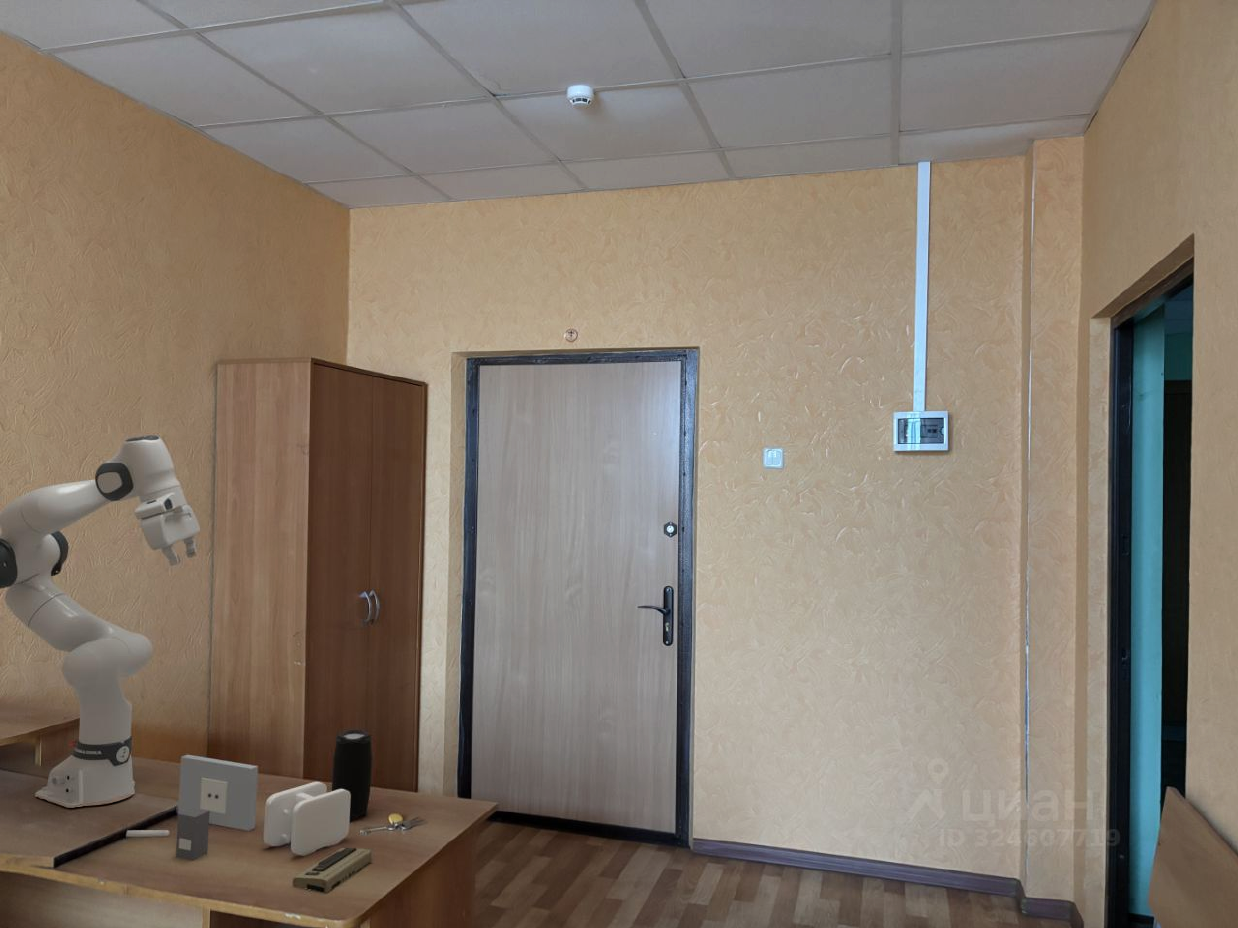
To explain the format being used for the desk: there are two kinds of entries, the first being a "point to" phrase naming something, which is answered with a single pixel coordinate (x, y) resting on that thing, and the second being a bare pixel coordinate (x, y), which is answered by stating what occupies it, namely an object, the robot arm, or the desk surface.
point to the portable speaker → (353, 769)
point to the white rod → (147, 833)
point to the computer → (333, 869)
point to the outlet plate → (219, 790)
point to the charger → (192, 833)
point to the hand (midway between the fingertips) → (184, 560)
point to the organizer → (307, 817)
